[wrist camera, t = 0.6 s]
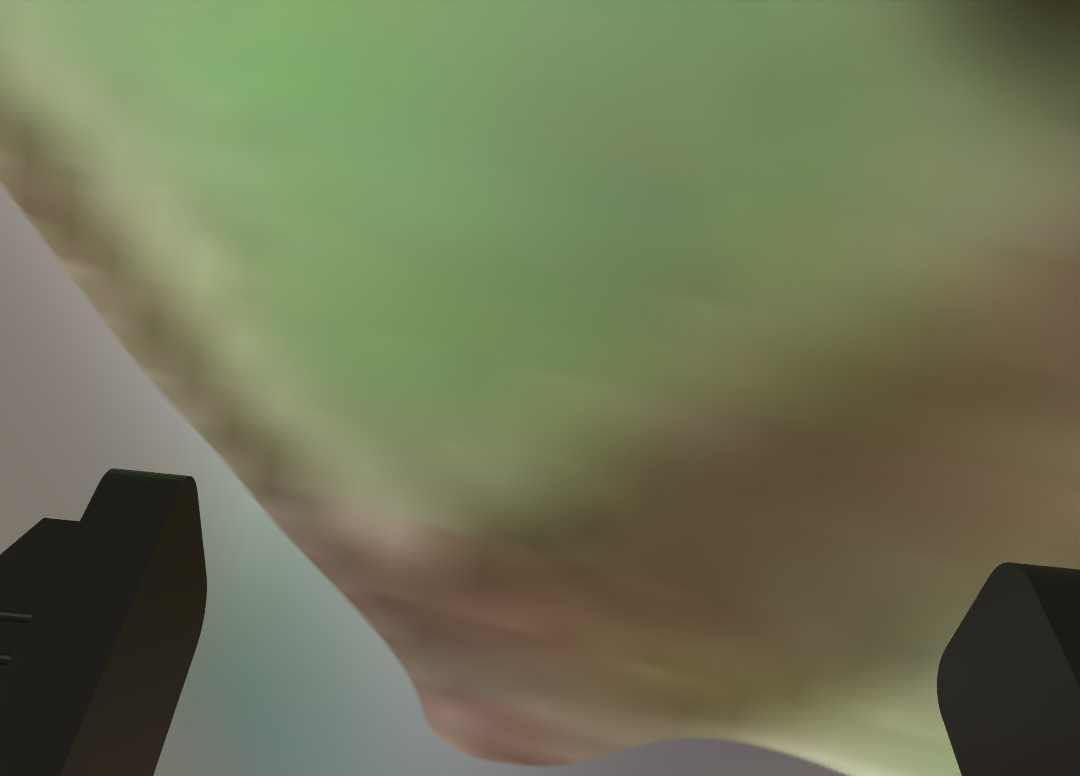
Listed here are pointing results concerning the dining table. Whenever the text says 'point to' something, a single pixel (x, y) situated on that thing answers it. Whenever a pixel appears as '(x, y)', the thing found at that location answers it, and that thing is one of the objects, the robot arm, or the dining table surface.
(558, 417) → the dining table surface
